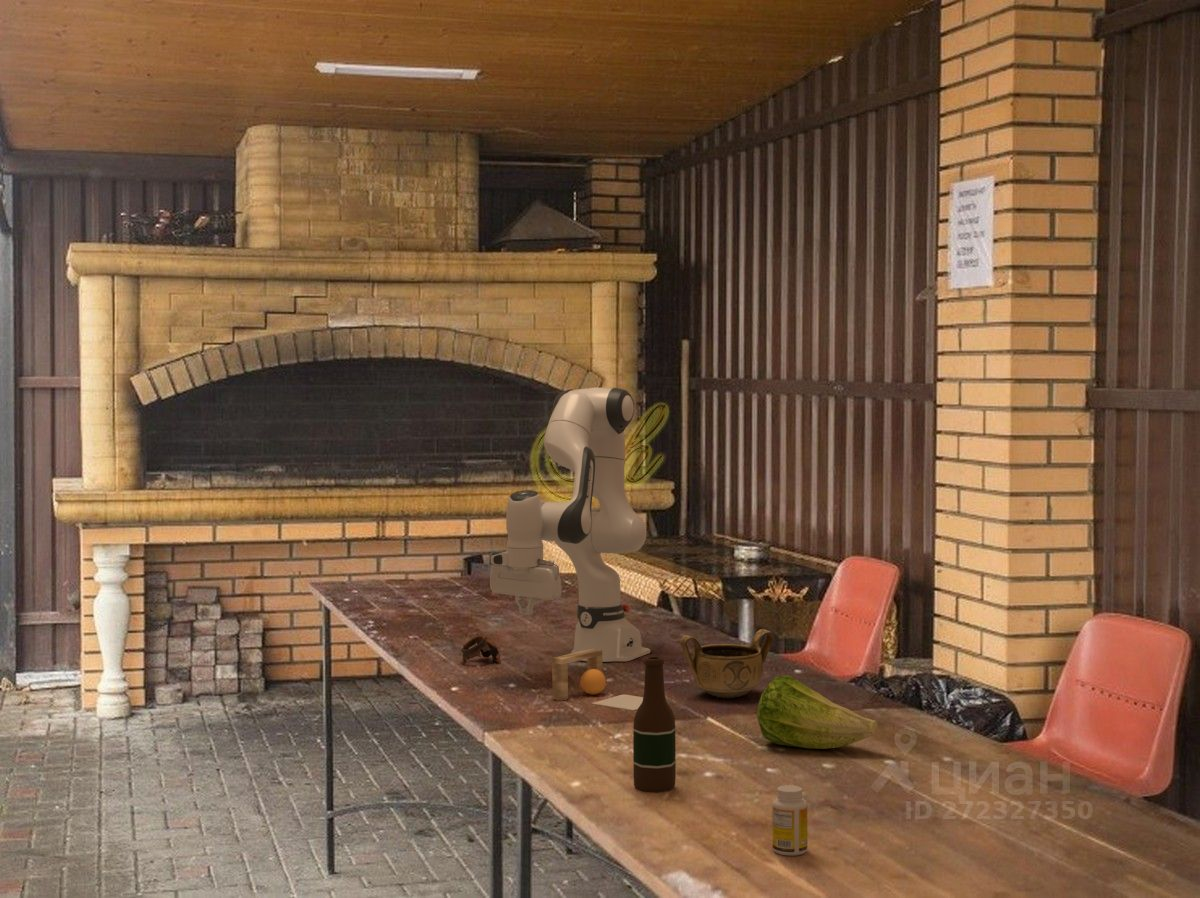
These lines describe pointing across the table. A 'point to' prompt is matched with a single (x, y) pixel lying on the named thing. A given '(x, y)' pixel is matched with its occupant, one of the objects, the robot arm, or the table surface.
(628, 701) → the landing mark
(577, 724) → the table surface
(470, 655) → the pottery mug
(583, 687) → the ball
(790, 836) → the supplement bottle
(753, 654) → the ceramic bowl
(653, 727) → the beer bottle
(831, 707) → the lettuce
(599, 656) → the bridge
